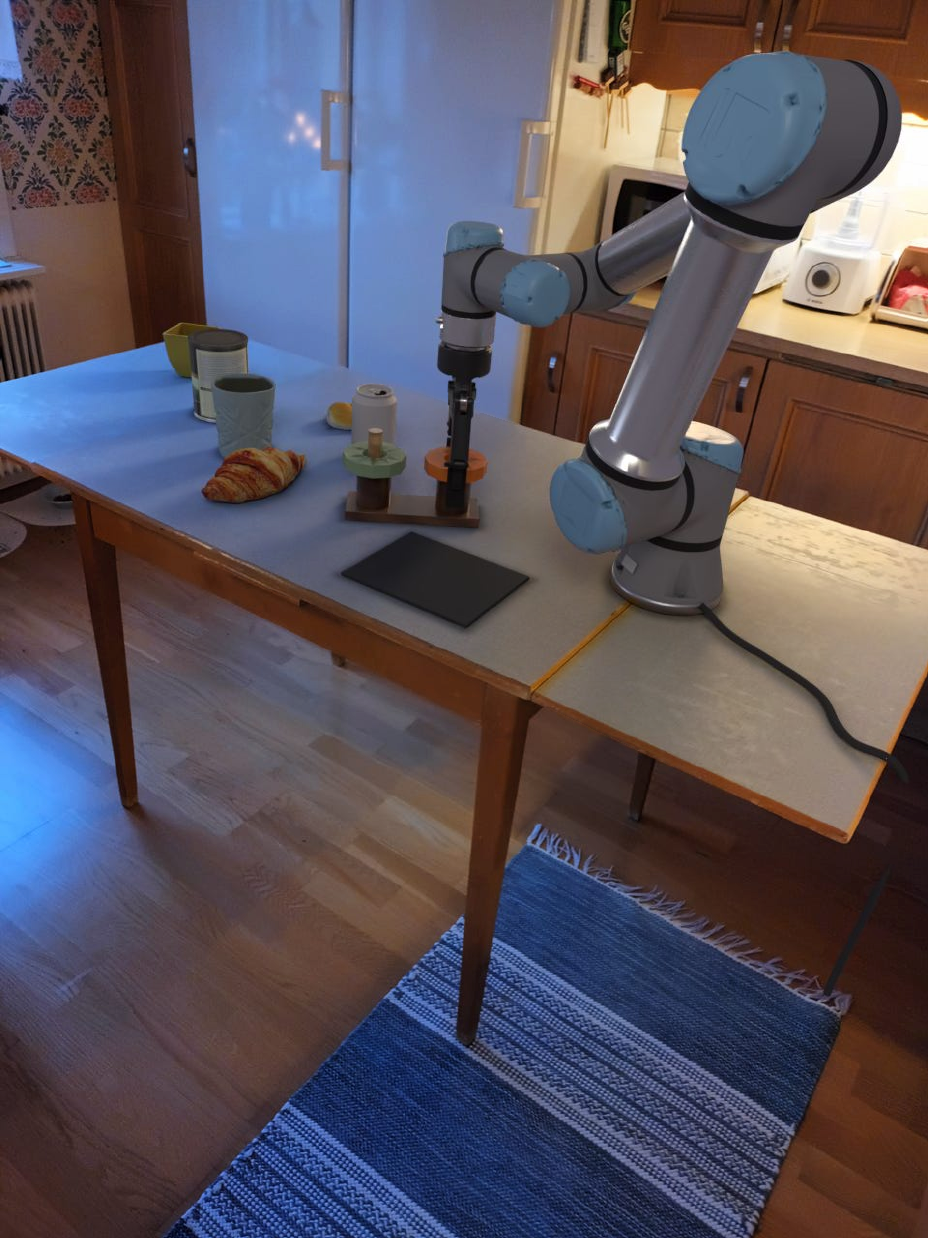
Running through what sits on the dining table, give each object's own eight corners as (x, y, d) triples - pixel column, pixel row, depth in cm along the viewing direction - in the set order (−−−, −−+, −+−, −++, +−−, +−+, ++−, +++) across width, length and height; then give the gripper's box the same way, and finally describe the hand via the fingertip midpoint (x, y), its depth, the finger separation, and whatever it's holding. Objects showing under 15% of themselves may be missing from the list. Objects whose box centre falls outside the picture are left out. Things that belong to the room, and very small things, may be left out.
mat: (528, 579, 127) (529, 576, 126) (465, 628, 115) (466, 625, 115) (411, 534, 135) (411, 531, 135) (341, 575, 124) (341, 572, 123)
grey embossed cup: (203, 455, 153) (198, 384, 146) (236, 436, 161) (233, 368, 155) (257, 468, 150) (254, 397, 144) (288, 448, 158) (286, 379, 152)
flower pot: (165, 378, 183) (161, 332, 178) (184, 365, 190) (180, 321, 185) (207, 384, 182) (204, 338, 177) (224, 371, 189) (222, 327, 184)
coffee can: (181, 412, 168) (174, 335, 161) (225, 399, 175) (220, 325, 168) (220, 428, 163) (215, 348, 156) (263, 414, 171) (260, 338, 163)
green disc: (417, 468, 137) (418, 455, 136) (372, 483, 131) (372, 470, 130) (376, 449, 142) (376, 436, 141) (331, 462, 136) (331, 450, 135)
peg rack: (476, 507, 145) (484, 428, 138) (478, 527, 139) (486, 446, 132) (348, 499, 143) (349, 419, 136) (344, 520, 137) (346, 437, 130)
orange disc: (497, 473, 138) (498, 460, 137) (456, 488, 132) (457, 475, 131) (454, 454, 143) (455, 441, 142) (412, 468, 137) (413, 455, 136)
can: (388, 468, 155) (390, 398, 148) (345, 461, 156) (346, 392, 149) (399, 451, 161) (402, 384, 155) (358, 445, 162) (359, 378, 156)
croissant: (291, 482, 155) (274, 436, 153) (332, 471, 148) (315, 423, 146) (194, 522, 139) (174, 471, 137) (236, 511, 133) (215, 458, 131)
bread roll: (380, 430, 169) (381, 409, 167) (332, 432, 166) (332, 411, 164) (369, 413, 175) (369, 393, 173) (322, 416, 172) (322, 395, 170)
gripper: (437, 319, 136) (428, 461, 148) (439, 365, 118) (428, 523, 130) (488, 323, 137) (474, 464, 149) (497, 370, 118) (481, 526, 130)
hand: (453, 491), depth 139 cm, fingers closed on orange disc, 9 cm apart
